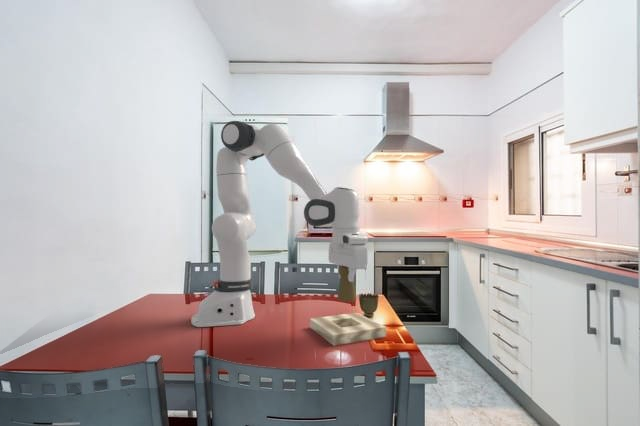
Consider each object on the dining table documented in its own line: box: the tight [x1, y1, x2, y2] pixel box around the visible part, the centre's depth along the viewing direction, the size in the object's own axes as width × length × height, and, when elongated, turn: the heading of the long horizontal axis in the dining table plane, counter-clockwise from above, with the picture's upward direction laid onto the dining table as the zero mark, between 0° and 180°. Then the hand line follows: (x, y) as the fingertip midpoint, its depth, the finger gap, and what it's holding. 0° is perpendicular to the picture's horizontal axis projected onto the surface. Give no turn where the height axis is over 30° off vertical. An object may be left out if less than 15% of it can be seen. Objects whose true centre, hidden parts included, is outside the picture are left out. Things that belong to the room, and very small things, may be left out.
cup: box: [358, 292, 379, 318], centre depth 125 cm, size 8×7×8 cm
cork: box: [337, 266, 357, 303], centre depth 108 cm, size 6×6×11 cm
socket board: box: [309, 312, 387, 346], centre depth 108 cm, size 18×18×3 cm
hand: (346, 279), depth 108 cm, fingers closed on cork, 4 cm apart
